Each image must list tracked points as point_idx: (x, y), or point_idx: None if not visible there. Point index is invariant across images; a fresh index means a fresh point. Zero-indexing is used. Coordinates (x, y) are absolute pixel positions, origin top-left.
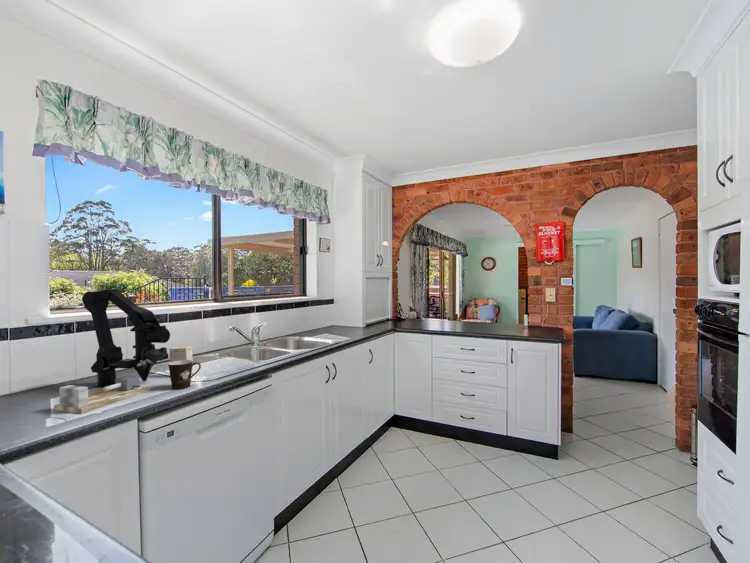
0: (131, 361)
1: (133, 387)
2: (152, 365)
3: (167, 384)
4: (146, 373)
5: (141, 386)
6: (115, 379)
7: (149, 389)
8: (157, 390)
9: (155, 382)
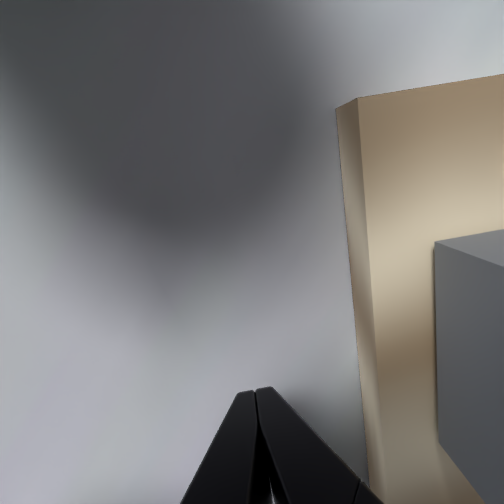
0: None
1: None
2: None
3: (3, 195)
4: (253, 502)
5: (377, 264)
6: None
7: (347, 103)
8: (273, 11)
9: (50, 442)
